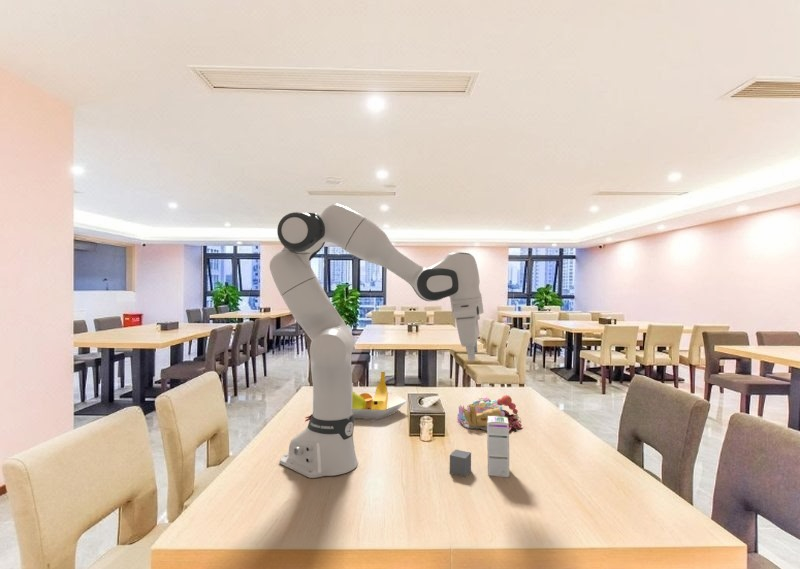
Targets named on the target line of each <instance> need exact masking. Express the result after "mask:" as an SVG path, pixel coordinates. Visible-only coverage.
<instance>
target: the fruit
mask: <svg viewBox="0 0 800 569" xmlns="http://www.w3.org/2000/svg"><path fill="white" fill-rule="evenodd" d="M380 372H381V373H380V380H379V382H378V384H377V386H376V387H375V388H376V389H375V391H360V390H359V391H358V390H357V391H356V392H354V391H353V393H352V413H353V414H354V419H355V418H366V419H365V420H382V419H384V418H386V417H388V415H389V416H391V415H393V414H395V413H396V412H397V411H398V410H399V409H401V407H403V406H404V405H405V404H406V403H407V400H406V399H404V398H403V397H401V396H398V395H397V394H396V393H395V392H394V393H393V392H392V391H391V392H389V391H388V387H387V385H386V372H385V371H380ZM387 405H388V406H389V407H390V408H387ZM368 408H369V409H368ZM394 412H395V413H394ZM392 413H393V414H392ZM390 414H391V415H390ZM385 416H386V417H385ZM383 417H384V418H383Z"/></svg>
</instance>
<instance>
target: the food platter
mask: <svg viewBox="0 0 800 569" xmlns="http://www.w3.org/2000/svg"><path fill="white" fill-rule="evenodd" d="M503 406H505V407H508V408H509V409H510V410H511V411H512V413H510V412H509V411H507V410H505V409H503ZM516 406H517V405H516V404H515V403H514V402H513V400H512V398H511V396H509V395H507V394H506V395H505V394H504V395H502V397H501V398H498V399H497V400H495V399H492V400H491V399H490V398H489V397H488V396H483V397H482V396H481V397H480V396H479V397H478V399H475V400H473V401H472V404H470V403H469V404H468V405H467V406H466V407H465V406H464V405H461V404H460V405H459V406H458V413H457V423H458V424H459V425H460V424H461V425H462V426H463V427H465V428H467V429H481V430H484V431H487V419H488V416H503V417H507V418H508V423H509V432H511V431H512V430H513V431H515V432H516V431H518V430H517V429H522V426H523V425H522V423H521V418H520V417H519V414H518V409H516Z"/></svg>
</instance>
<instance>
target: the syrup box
mask: <svg viewBox="0 0 800 569" xmlns="http://www.w3.org/2000/svg"><path fill="white" fill-rule="evenodd" d="M486 433H487V434H486V437H487V439H486V443H487V444H486V445H487V476H490V477H499V478H510V431H509V423H508V418H507V417H503V416H488V419H487V430H486Z"/></svg>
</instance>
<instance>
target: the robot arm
mask: <svg viewBox="0 0 800 569" xmlns="http://www.w3.org/2000/svg"><path fill="white" fill-rule="evenodd" d="M276 232H277V237H278V240H279V242H280V243H281V245H282V246H283V248H282V249H281V250H280V251H279V252H278V253H276V254H275V255H274V256H273V257H272V258H271V259H270V262H269V270H270V274H271V276H272V280H273V282H274V284H275V286H276V288H277V291H278V292H279V294H280V296H281V298H282V299H283V301H284V303H285V305H286V306H287V308H288V310H289V312H290V314H291V315H292V317H293V319H294V320H295V322H296V323H297V324H298V325H299V326H300V327H301V329H303V331H304V333H305V334H306V335H307V336H308V337H309V339H310V340H311V342H310V346H309V358H310V359H309V360H310V371H311V380H312V414H310V415H308V416H306V417H305V420H304V422H308V425H307V427H305V428H304V429H303V430H301V431H300V432H299V433H298V434H297V435H296V436H294V437H293V438H292V439H291V440H290V442H289V447H288V452H286V453H285V454H284V455H282V457H281V458H280V460H279V464H280V465H283V466H284V467H286V468H288V469H291V470H293V471H295V472H297V473H298V474H301V475H303V476H305V477H307V478H310V479H315V478H320V477H328V476H329V477H330V476H339V475H343V474H346V473H349V472H351V471H353V470H354V469H355V468H357V467H358V464H359V462H358V459H357V455H356V450H355V444H354V443H355V442H354V427H355V418H354V414H353V413H352V393H353V392H354V391H353V388H354V387H353V374H352V353H353V350H354V348H355V338H354V336H353V334H352V332H351V331H350V330H351V329H350V328H349V327H348V326H347V324H346V323H345V322H346V321H344V320H343V318H342V316H341V314H340V313H339V312H338V310H337V309H336V307H335V306H334V305H333V303H332V301H331V299H330V298H329V296H328V295H327V293H326V291H325V289H324V288H323V285H322V284H321V282H320V281H319V279H318V277H317V276H316V274H315V272H314V270H313V268H312V267H311V263H310V261H311V260H312V259H314V257H315V256H316V255H317V254H318V253H319V252H320V251H321V250H322V249H323V247H325V243H331V244H334V245H336V246H338V247H339V248H341V249H342V250H344V251H346V252H348V253H349V254H350V255H352V256H354V257H355V258H358V259H360V260H362V261H365V262H367V263H370V264H374V265H377V266H380V267H381V268H382V267H383V268H385V269H386V270H388V271H390V272H392V273H393V275H394V274H395V275H396V276H397V277H399V278H401V280H404V281H405V282H406V283H408V284H409V285H410V286H411V288H412V290H414V292H415V294H416V295H417V296H418V297H419V298H420V299H421V300H423V301H427V302H438V301H441V300H444V299H446V298H447V297H449V299H450V307H451V314H452V317H453V319H454V320H455V322H456V329H457V333H458V338H459V341H460V345H461V346H462V347H465V350H466V354H467V359H468V361H469V362H474V361H475V360H476V354H478V352H479V351H478V339H479V336H480V328H479V327H480V326H479V320H480V319H481V317H480V315H481V314H484V306H483V297H482V294H481V290H480V275H479V269H478V264H477V261H476V259H475V257H474V256H473V255H472V253H471V254H470V253H468V252H459V251H458V252H449V253H448V254H447V255H446V256H445V257H443V258H442V259H441V260H440V261H438V262H437V263H435V264H433V265H431V266H429V267H424V266H421V265H420V264H418V263H416V262H415V261H413V260H412V259H410V258H408V257H407V256H406V255H404V254H403V253H401V252H400V251H399V250H398V249H397V248H396V247H395V246H394V245H393V244H392V242H391V240H390V238H389V237H388V236H387V234H386V233H385V231H383V230H382V229H381V228H380V227H379V226H378V225H377V224H376V223H374V222H373V221H372V220H371V219H369V218H367V217H366V216H365V215H363V214H361V213H359V212H357V211H355V210H354V209H352V208H350V207H347V206H345V205H342V204H339V203H334V204H333V203H332V204H331V205H328V206H326V208H325V209H324V210H323V211H322V213H320V215H319V214H318V213H316V212H307V211H305V212H304V211H294V212H289V213H288V214H285V215H284V216H282V218H281V219H280V221H279V222H278V224H277V231H276Z"/></svg>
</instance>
